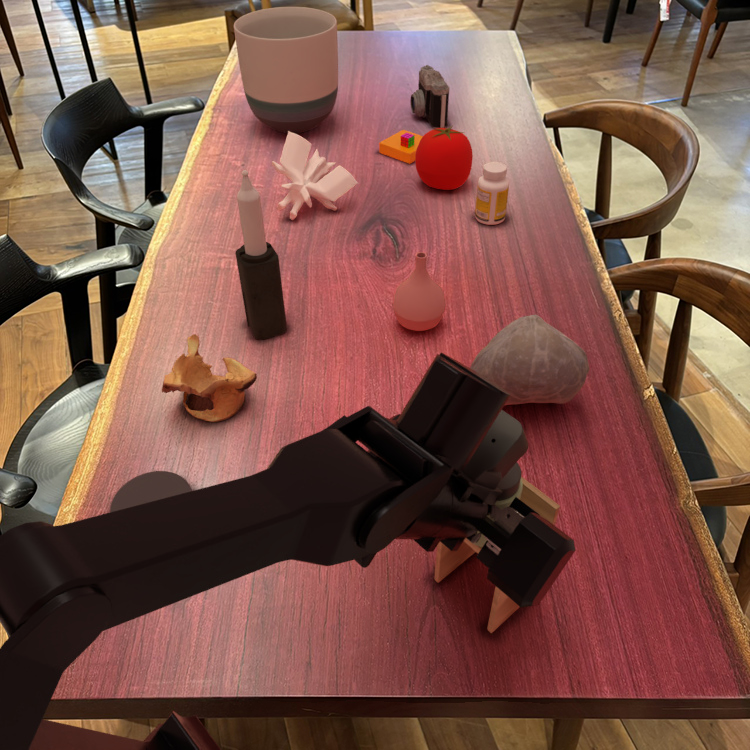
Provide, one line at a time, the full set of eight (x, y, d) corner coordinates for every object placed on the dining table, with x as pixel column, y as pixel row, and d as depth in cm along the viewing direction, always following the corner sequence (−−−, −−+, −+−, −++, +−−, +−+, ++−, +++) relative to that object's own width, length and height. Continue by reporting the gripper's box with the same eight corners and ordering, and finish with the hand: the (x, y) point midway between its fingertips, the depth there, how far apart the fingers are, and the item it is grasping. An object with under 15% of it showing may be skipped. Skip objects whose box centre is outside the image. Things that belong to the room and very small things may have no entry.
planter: (234, 142, 151) (217, 35, 136) (266, 104, 166) (254, 4, 151) (327, 151, 148) (320, 42, 133) (351, 111, 162) (347, 9, 147)
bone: (166, 431, 91) (152, 384, 85) (173, 379, 98) (160, 331, 92) (262, 423, 92) (253, 375, 86) (262, 371, 99) (254, 324, 93)
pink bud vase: (441, 343, 103) (446, 273, 95) (388, 337, 104) (389, 268, 96) (446, 310, 108) (451, 242, 100) (396, 305, 109) (397, 237, 101)
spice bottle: (504, 556, 63) (515, 500, 58) (452, 537, 65) (459, 480, 59) (519, 515, 66) (532, 459, 61) (470, 498, 68) (478, 441, 63)
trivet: (162, 558, 77) (158, 547, 76) (97, 528, 80) (92, 518, 79) (211, 497, 83) (208, 486, 82) (148, 471, 86) (144, 460, 84)
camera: (403, 104, 165) (404, 59, 158) (431, 101, 166) (433, 56, 159) (419, 131, 154) (421, 84, 147) (449, 128, 155) (452, 81, 148)
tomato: (455, 203, 132) (459, 148, 124) (405, 189, 136) (406, 134, 128) (480, 179, 138) (485, 125, 131) (431, 167, 142) (434, 113, 135)
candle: (245, 321, 107) (218, 165, 90) (277, 312, 108) (257, 157, 91) (256, 341, 103) (230, 183, 86) (289, 332, 105) (270, 174, 88)
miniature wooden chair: (491, 633, 70) (508, 550, 61) (434, 579, 75) (441, 493, 65) (537, 591, 74) (560, 505, 64) (479, 541, 78) (493, 454, 68)
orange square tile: (379, 152, 147) (378, 132, 144) (403, 139, 151) (403, 119, 148) (409, 164, 143) (410, 143, 140) (433, 150, 148) (434, 130, 145)
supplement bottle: (504, 210, 130) (510, 160, 123) (505, 226, 126) (512, 175, 119) (474, 209, 130) (479, 158, 123) (474, 225, 126) (479, 173, 119)
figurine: (311, 250, 134) (348, 195, 139) (328, 227, 123) (367, 169, 128) (243, 202, 131) (284, 148, 136) (254, 174, 121) (298, 117, 125)
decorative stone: (567, 373, 98) (588, 284, 87) (592, 429, 90) (618, 338, 80) (458, 383, 97) (467, 293, 86) (475, 440, 89) (486, 349, 79)
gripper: (585, 481, 46) (638, 494, 59) (387, 344, 56) (469, 381, 69) (493, 620, 48) (564, 603, 61) (315, 462, 58) (409, 477, 71)
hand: (498, 507), depth 65 cm, fingers closed on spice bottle, 5 cm apart
